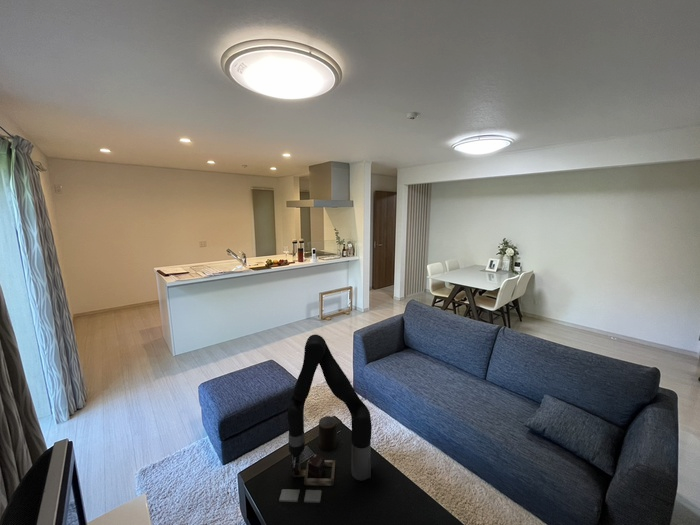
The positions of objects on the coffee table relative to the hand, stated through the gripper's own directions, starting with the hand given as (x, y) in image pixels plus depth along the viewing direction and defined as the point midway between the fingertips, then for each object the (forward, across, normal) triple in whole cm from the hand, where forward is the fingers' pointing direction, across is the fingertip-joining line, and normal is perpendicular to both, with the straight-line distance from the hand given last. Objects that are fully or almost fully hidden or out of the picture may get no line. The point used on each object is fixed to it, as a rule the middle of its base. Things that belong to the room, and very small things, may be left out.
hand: (297, 471), depth 139 cm
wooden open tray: (+1, 0, -8) cm, 8 cm away
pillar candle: (+2, +19, -13) cm, 23 cm away
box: (+2, +1, -9) cm, 9 cm away
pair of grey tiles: (+2, -11, -4) cm, 12 cm away
